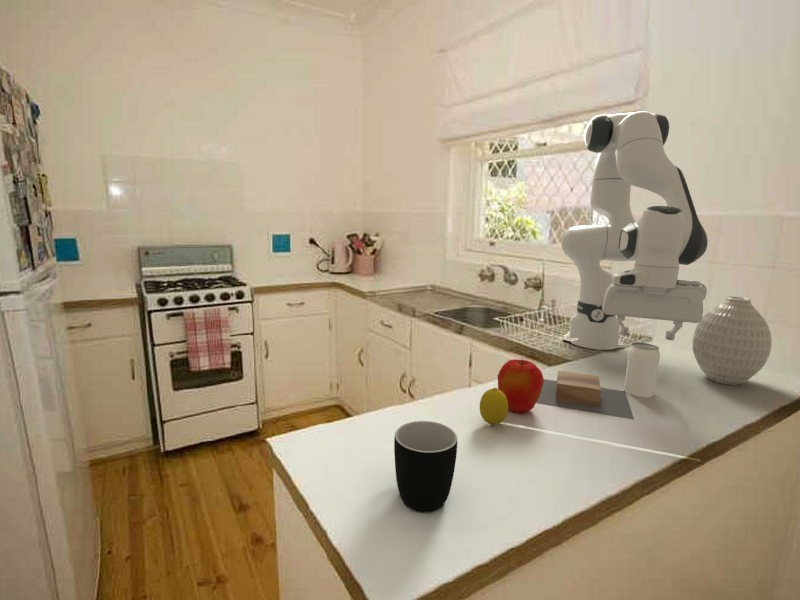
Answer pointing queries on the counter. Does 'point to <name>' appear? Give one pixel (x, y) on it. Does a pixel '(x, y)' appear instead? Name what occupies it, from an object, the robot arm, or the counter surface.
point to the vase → (732, 341)
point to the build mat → (608, 405)
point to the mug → (424, 464)
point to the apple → (520, 384)
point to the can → (642, 369)
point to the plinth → (578, 388)
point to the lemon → (493, 406)
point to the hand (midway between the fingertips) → (646, 337)
